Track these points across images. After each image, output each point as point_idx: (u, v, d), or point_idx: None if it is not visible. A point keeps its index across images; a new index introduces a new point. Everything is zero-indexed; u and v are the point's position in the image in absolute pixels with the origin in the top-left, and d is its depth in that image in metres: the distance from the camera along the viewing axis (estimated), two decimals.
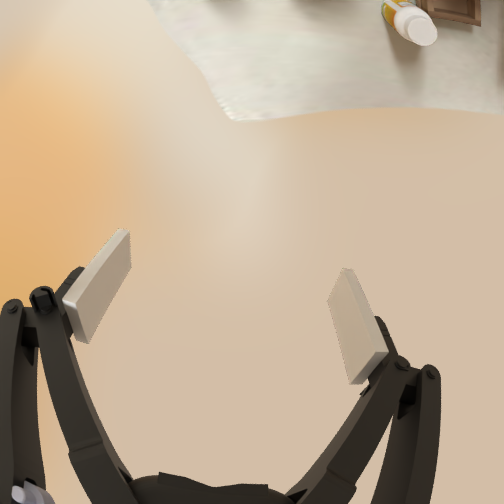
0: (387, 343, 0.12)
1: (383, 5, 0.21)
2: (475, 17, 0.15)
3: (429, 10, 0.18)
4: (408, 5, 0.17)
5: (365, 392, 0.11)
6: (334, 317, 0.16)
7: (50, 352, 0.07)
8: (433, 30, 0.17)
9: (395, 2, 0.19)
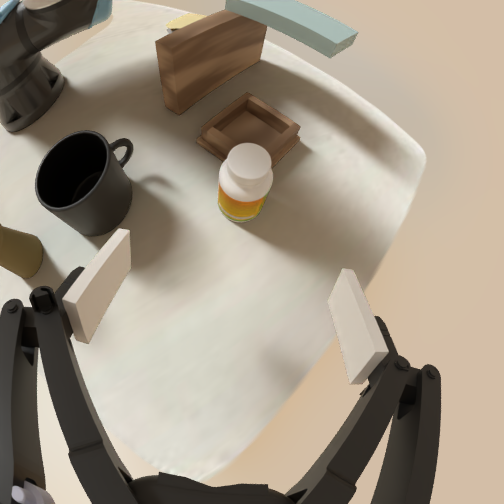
0: (387, 343, 0.12)
1: (219, 206, 0.31)
2: (288, 124, 0.33)
3: None
4: None
5: (365, 392, 0.11)
6: (334, 317, 0.16)
7: (50, 352, 0.07)
8: (255, 148, 0.24)
9: None
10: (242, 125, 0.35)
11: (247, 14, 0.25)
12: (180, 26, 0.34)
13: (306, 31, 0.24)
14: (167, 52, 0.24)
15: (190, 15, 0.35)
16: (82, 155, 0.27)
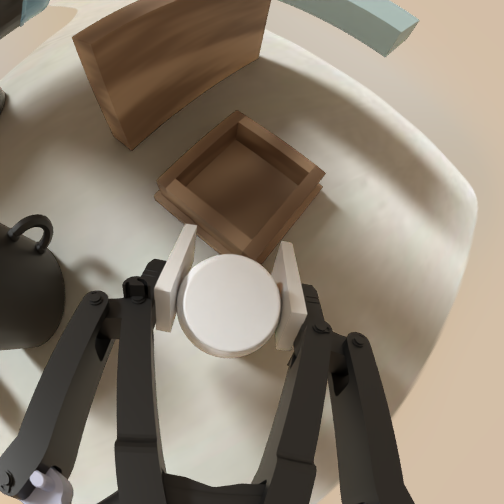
0: (314, 309, 0.13)
1: None
2: (305, 170, 0.20)
3: (245, 248, 0.18)
4: None
5: (291, 363, 0.12)
6: None
7: (130, 341, 0.09)
8: (245, 270, 0.11)
9: None
10: (229, 167, 0.22)
11: None
12: None
13: (342, 6, 0.11)
14: (88, 53, 0.11)
15: None
16: None
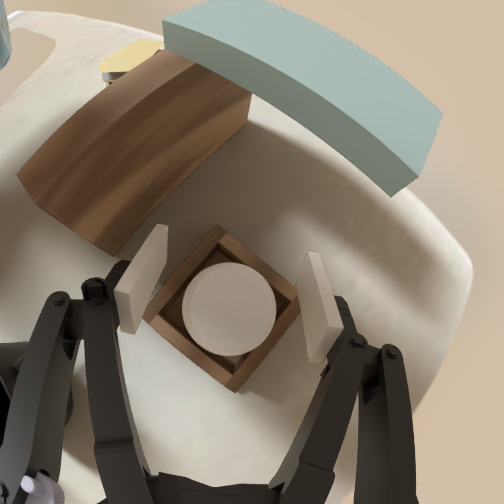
0: (346, 321, 0.13)
1: None
2: (288, 297, 0.20)
3: (226, 382, 0.18)
4: None
5: (325, 373, 0.12)
6: (300, 298, 0.17)
7: (95, 343, 0.08)
8: (244, 279, 0.13)
9: None
10: None
11: (207, 61, 0.13)
12: (118, 67, 0.21)
13: (346, 126, 0.11)
14: None
15: (140, 42, 0.23)
16: None
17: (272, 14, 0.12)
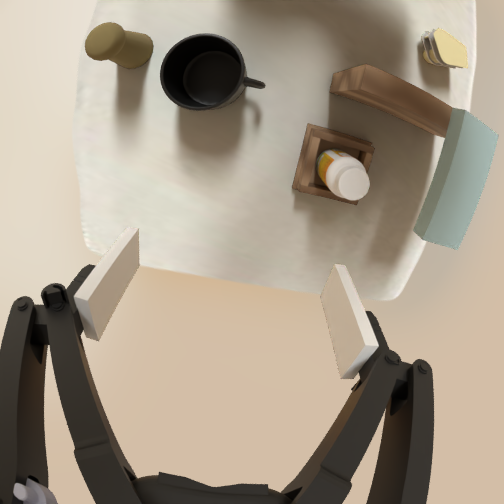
0: (378, 338, 0.12)
1: (321, 155, 0.36)
2: None
3: (302, 185, 0.37)
4: (348, 156, 0.31)
5: (356, 387, 0.11)
6: (326, 312, 0.16)
7: (60, 349, 0.08)
8: (366, 184, 0.29)
9: (336, 152, 0.33)
10: None
11: (448, 137, 0.23)
12: (440, 45, 0.23)
13: (432, 207, 0.26)
14: (359, 82, 0.22)
15: (463, 49, 0.22)
16: (230, 50, 0.26)
17: (483, 161, 0.22)
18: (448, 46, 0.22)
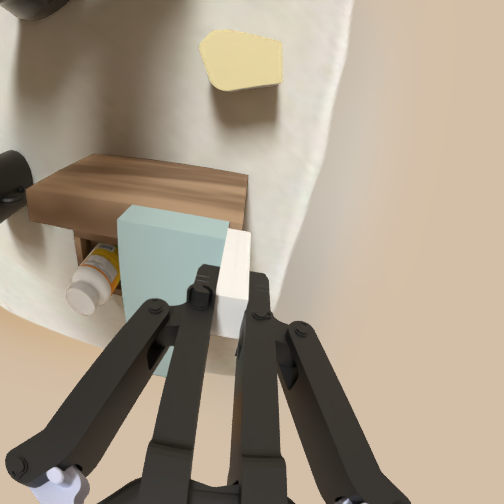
0: (261, 297, 0.13)
1: None
2: None
3: None
4: (88, 264, 0.27)
5: (238, 353, 0.12)
6: None
7: (186, 347, 0.09)
8: (89, 302, 0.25)
9: (90, 254, 0.29)
10: None
11: None
12: (213, 61, 0.19)
13: None
14: None
15: (272, 50, 0.18)
16: None
17: None
18: (232, 56, 0.18)
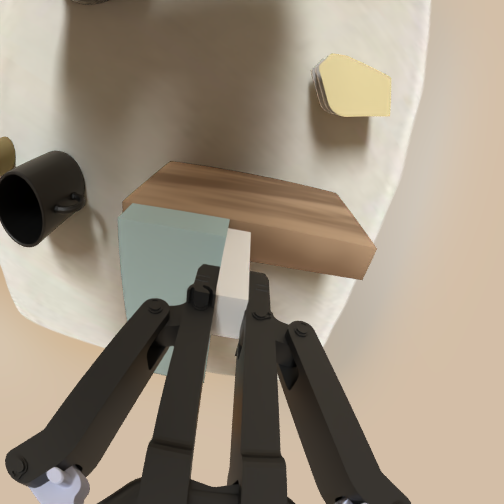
0: (261, 297, 0.13)
1: None
2: None
3: None
4: None
5: (238, 353, 0.12)
6: None
7: (186, 347, 0.09)
8: None
9: None
10: None
11: None
12: (332, 85, 0.20)
13: None
14: None
15: (383, 84, 0.19)
16: None
17: None
18: (350, 83, 0.19)
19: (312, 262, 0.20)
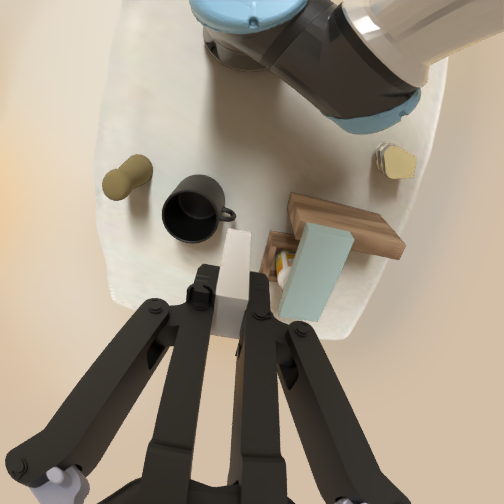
0: (261, 297, 0.13)
1: (278, 254, 0.54)
2: None
3: None
4: None
5: (238, 353, 0.12)
6: None
7: (186, 347, 0.09)
8: None
9: (287, 257, 0.52)
10: None
11: (299, 247, 0.40)
12: (388, 162, 0.41)
13: (284, 296, 0.44)
14: (296, 230, 0.41)
15: (412, 161, 0.40)
16: None
17: (333, 262, 0.40)
18: (397, 161, 0.40)
19: (379, 251, 0.41)
